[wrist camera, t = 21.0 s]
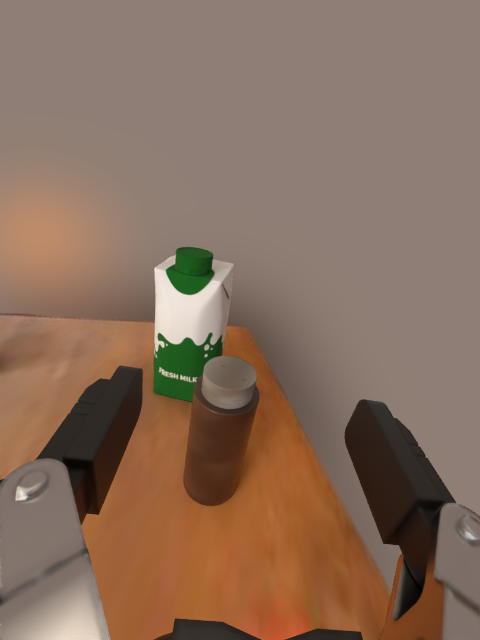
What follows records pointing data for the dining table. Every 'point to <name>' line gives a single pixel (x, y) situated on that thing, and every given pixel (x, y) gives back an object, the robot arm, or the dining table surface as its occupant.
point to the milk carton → (189, 318)
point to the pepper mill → (219, 429)
